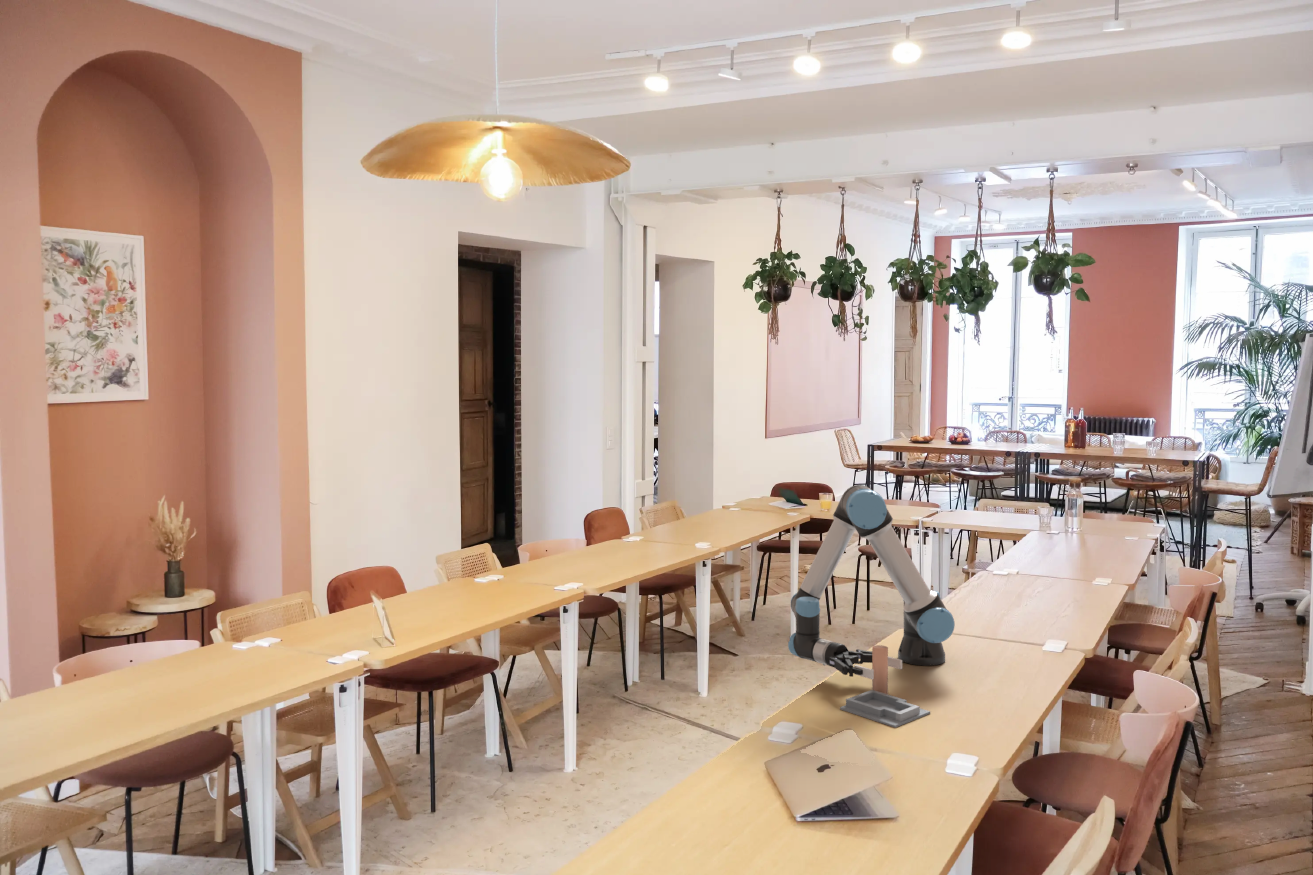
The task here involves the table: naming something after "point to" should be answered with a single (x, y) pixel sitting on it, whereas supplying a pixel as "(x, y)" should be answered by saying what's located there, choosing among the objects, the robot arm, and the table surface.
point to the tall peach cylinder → (880, 668)
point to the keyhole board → (883, 708)
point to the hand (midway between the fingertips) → (887, 669)
